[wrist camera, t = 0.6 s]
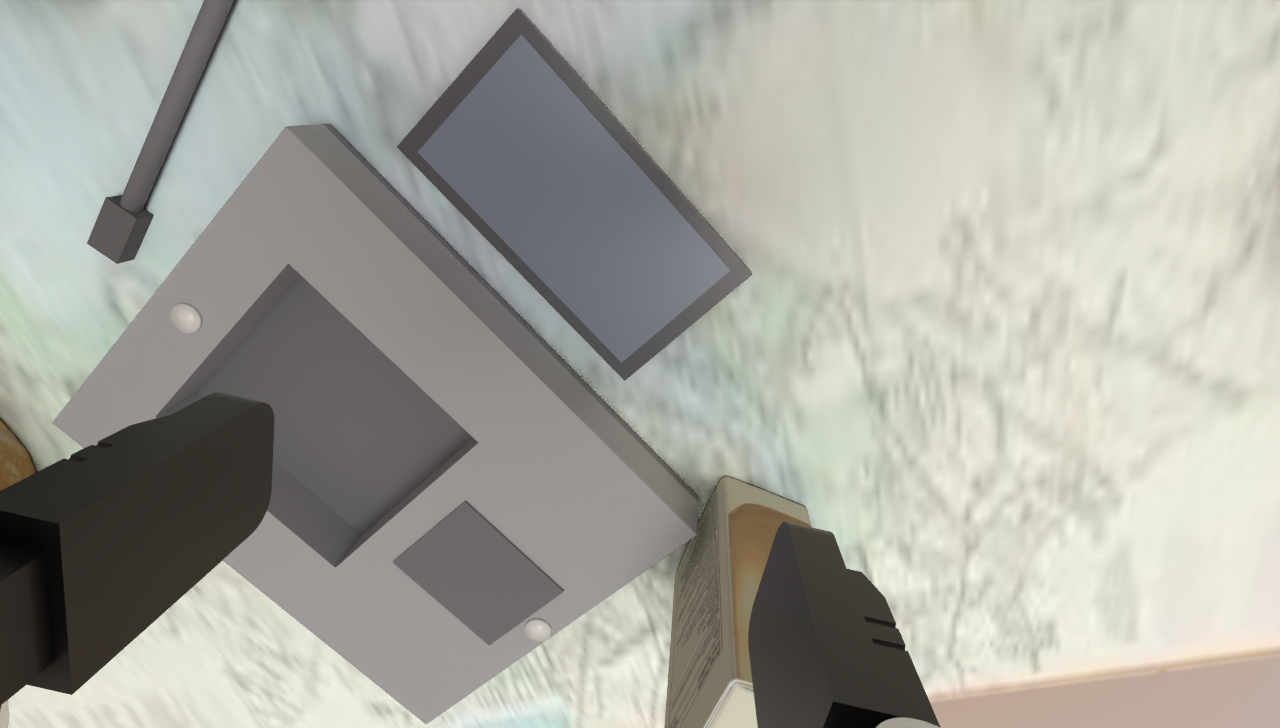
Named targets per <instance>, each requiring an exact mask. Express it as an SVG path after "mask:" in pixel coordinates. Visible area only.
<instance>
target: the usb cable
mask: <svg viewBox="0 0 1280 728" xmlns="http://www.w3.org/2000/svg"><path fill="white" fill-rule="evenodd" d="M233 2H234V0H204V2H203V5H202V7H201V9H200V12H199V14H198V17H197V19H196V21H195V24H194V26H193V28H192V31H191V33H190V36H189V38H188V40H187V43H186V45H185V47H184V50H183V52H182V55H181V57H180V59H179V62H178V64H177V66H176V69H175V71H174V74H173V76H172V78H171V81H170V83H169V86H168V88H167V90H166V93H165V95H164V97H163V100H162V102H161V105H160V107H159V109H158V112H157V114H156V116H155V119H154V121H153V124H152V126H151V128H150V131H149V133H148V135H147V138H146V140H145V143H144V145H143V147H142V150H141V152H140V155H139V157H138V159H137V162H136V164H135V166H134V169H133V171H132V174H131V176H130V178H129V181H128V183H127V185H126V188H125V190H124V193H123V195H119V196H113V197H106V198H105V201H104V203H103V206H102V208H101V211H100V213H99V215H98V218H97V220H96V223H95V225H94V228H93V230H92V232H91V235H90V237H89V240H88V242H87V244H89V245H90V246H92V247H93V248H95V249H96V250H98V251H99V252H100V253H102V254H103V255H105V256H106V257H108V258H109V259H111V260H112V261H114V262H115V263H117V264H118V263H121V262H125V261H129V260H132V259H134V257H135V255H136V253H137V251H138V248H139V246H140V244H141V242H142V239H143V237H144V235H145V233H146V231H147V228H148V226H149V224H150V222H151V219H152V217H153V215H152V214H150V213H149V212H148V211H146V210H145V209H143V208H144V205H145V203H146V201H147V199H148V196H149V194H150V192H151V189H152V187H153V185H154V183H155V180H156V178H157V176H158V173H159V171H160V169H161V167H162V164H163V162H164V160H165V157H166V155H167V153H168V150H169V148H170V146H171V144H172V141H173V139H174V137H175V134H176V132H177V130H178V128H179V125H180V123H181V121H182V118H183V116H184V114H185V112H186V109H187V107H188V105H189V102H190V100H191V98H192V96H193V93H194V91H195V89H196V86H197V84H198V82H199V80H200V77H201V75H202V73H203V70H204V68H205V66H206V64H207V61H208V59H209V57H210V54H211V52H212V50H213V48H214V45H215V43H216V41H217V38H218V36H219V34H220V31H221V29H222V27H223V25H224V22H225V20H226V18H227V15H228V13H229V11H230V9H231V6H232V4H233Z"/></svg>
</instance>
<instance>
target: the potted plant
mask: <svg viewBox="0 0 1280 728" xmlns="http://www.w3.org/2000/svg"><path fill="white" fill-rule="evenodd" d="M35 473H36V470H35V468H34V465H33V463H32V461H31V458H30V456H29V453H28V451H27V450H26V449H25V448H24V447H23V445H22V444H21V443H20V442H19V441H18V439H17V438H16V437H15V436H14V435H13V434H12V432H11V431H10V430H9V429H8V428H7V427H6V425H5V424H4V423H3V422H2V421H1V420H0V491H1V490H3V489H5V488H7V487H9V486H11V485H13V484H15V483H17V482H19V481H21V480H23V479H25V478H27V477H29V476H31V475H33V474H35Z"/></svg>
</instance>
